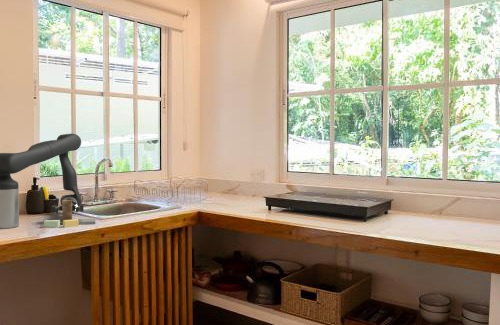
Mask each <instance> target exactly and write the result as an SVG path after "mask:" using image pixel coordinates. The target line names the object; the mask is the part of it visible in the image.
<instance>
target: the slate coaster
mask: <svg viewBox="0 0 500 325" xmlns="http://www.w3.org/2000/svg"><path fill="white" fill-rule="evenodd" d="M77 219H78V218H77ZM78 220H79V225H81V226H83V225H96V222H97V221H96V220H97V219H96V218H79V219H78Z"/></svg>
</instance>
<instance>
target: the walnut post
mask: <svg viewBox="0 0 500 325" xmlns="http://www.w3.org/2000/svg"><path fill="white" fill-rule="evenodd" d="M61 214H62V215H61V220H62V222H61V223H62V224H61V225H62V226H63V220H73V213H72V200H63V201H62V212H61Z"/></svg>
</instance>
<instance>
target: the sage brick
mask: <svg viewBox="0 0 500 325" xmlns="http://www.w3.org/2000/svg"><path fill="white" fill-rule="evenodd" d="M60 226H61V219H48V220H47V219H46V220H44V221H43V229H44V228H45V229H47V228H60Z"/></svg>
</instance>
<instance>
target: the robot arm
mask: <svg viewBox="0 0 500 325" xmlns="http://www.w3.org/2000/svg"><path fill="white" fill-rule="evenodd" d="M81 145H82V139H81V137H80V136H79V135H78V134H75V133H63V134H59V135H58V137H57V138H56V139H53V140H51V139H50V140H46V141H45V140H44V141H40V142H38V143H35V144H32V145H30V147H28V149H27V150H25V151H22V152H21V151H20V152H11V153H10V152H9V153H8V152H0V229H13V228H17V227H19V226H20V216H19V215H20V207H19V206H20V205H19V204H20V202H19V201H20V200H19V197H20V196H19V182H18V181H17V180H14V179H13V178H12V176H11V174H12V175H13V174H17V173H20V172H21V171H23V170H25V169H27V168H28V167H31V166H35V165H37V164H40V163H43V162H46V161H49V160H51V159H53V158H56V157H58V159H59V163H60V166H61V172H62V174H61V176H62V188H63V190H64V191H67V192H68V191H69V192H72V193H73V194H64V195H61V197H60V202H59V203H60V205H58V206H57V205H56V204H54V205H51V207H50V210H51V213H56V214H59V213H62V201H63V200H72V214H74V213H78V212H79V213H80V212H84V210H85V209H84V207H85V206H84V204H82V203H83V202H82V197H81V194H80V191H79V188H78V176H77V171H76V170H75V168H74V166H73V164H72V162H71V160H70V158H69V152H72V151H74V152H75V151H77V150H79V149H80V147H81Z"/></svg>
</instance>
